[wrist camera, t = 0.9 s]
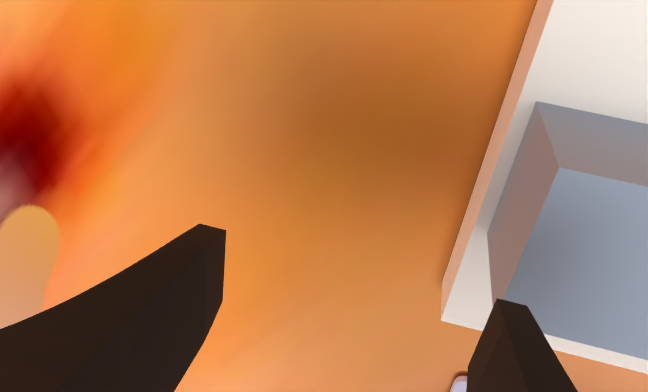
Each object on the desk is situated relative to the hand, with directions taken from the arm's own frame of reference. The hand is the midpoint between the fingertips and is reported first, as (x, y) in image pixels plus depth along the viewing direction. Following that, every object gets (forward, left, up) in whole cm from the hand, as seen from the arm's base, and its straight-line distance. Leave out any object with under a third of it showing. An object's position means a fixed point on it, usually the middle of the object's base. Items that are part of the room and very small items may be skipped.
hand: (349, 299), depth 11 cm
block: (0, -7, -8) cm, 10 cm away
